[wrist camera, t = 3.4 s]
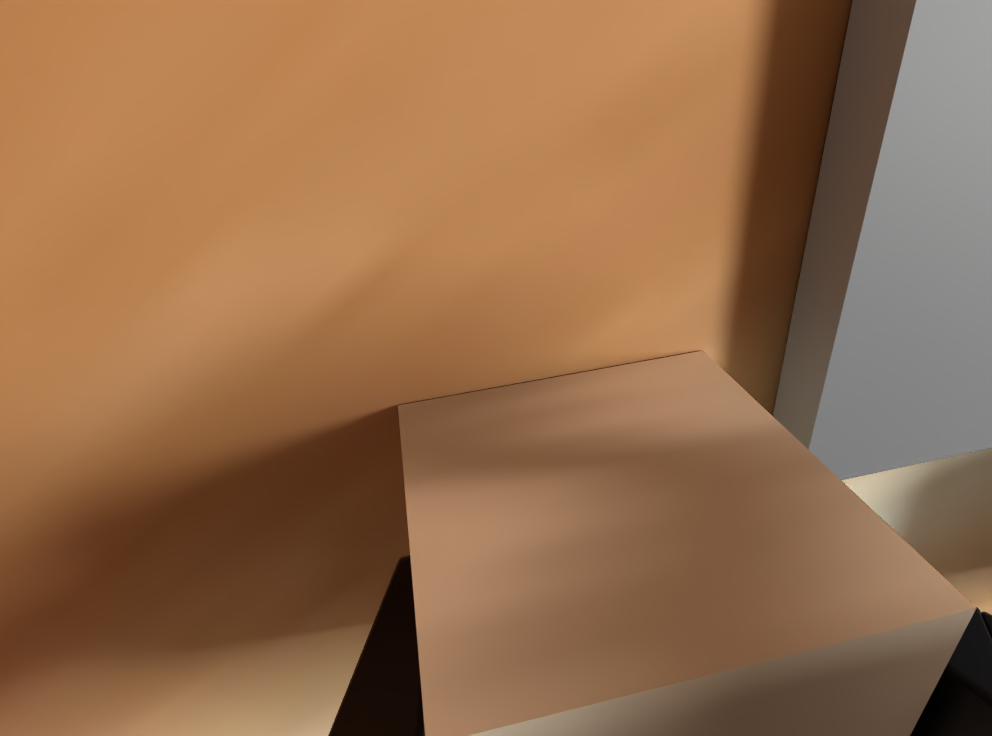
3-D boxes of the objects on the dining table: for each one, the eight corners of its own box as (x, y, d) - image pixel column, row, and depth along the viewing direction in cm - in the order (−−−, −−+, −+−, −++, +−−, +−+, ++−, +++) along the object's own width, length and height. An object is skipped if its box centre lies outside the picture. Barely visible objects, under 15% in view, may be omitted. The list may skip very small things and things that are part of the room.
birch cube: (441, 613, 11) (486, 957, 7) (397, 405, 9) (425, 745, 5) (680, 560, 12) (851, 847, 8) (703, 350, 9) (976, 607, 5)
